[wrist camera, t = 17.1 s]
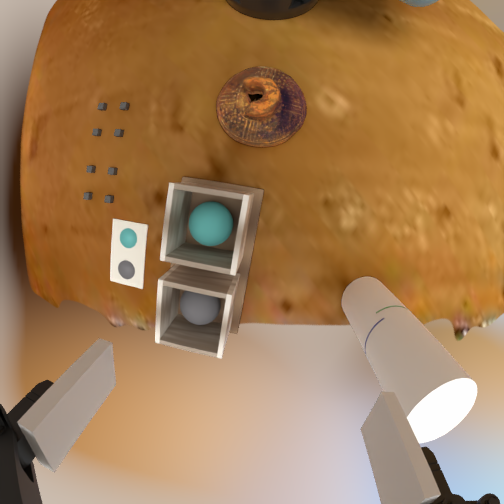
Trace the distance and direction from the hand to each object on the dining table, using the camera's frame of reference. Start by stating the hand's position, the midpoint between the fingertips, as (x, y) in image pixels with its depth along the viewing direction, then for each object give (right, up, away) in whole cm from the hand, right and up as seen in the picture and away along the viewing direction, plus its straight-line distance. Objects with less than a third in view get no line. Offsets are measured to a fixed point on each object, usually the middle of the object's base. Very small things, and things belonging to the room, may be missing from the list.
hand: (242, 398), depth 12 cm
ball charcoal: (-6, 0, +29) cm, 30 cm away
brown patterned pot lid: (+2, +26, +24) cm, 35 cm away
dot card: (-18, +6, +29) cm, 35 cm away
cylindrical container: (+17, 0, +29) cm, 33 cm away
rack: (-5, +6, +28) cm, 30 cm away
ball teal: (-4, +11, +26) cm, 29 cm away
